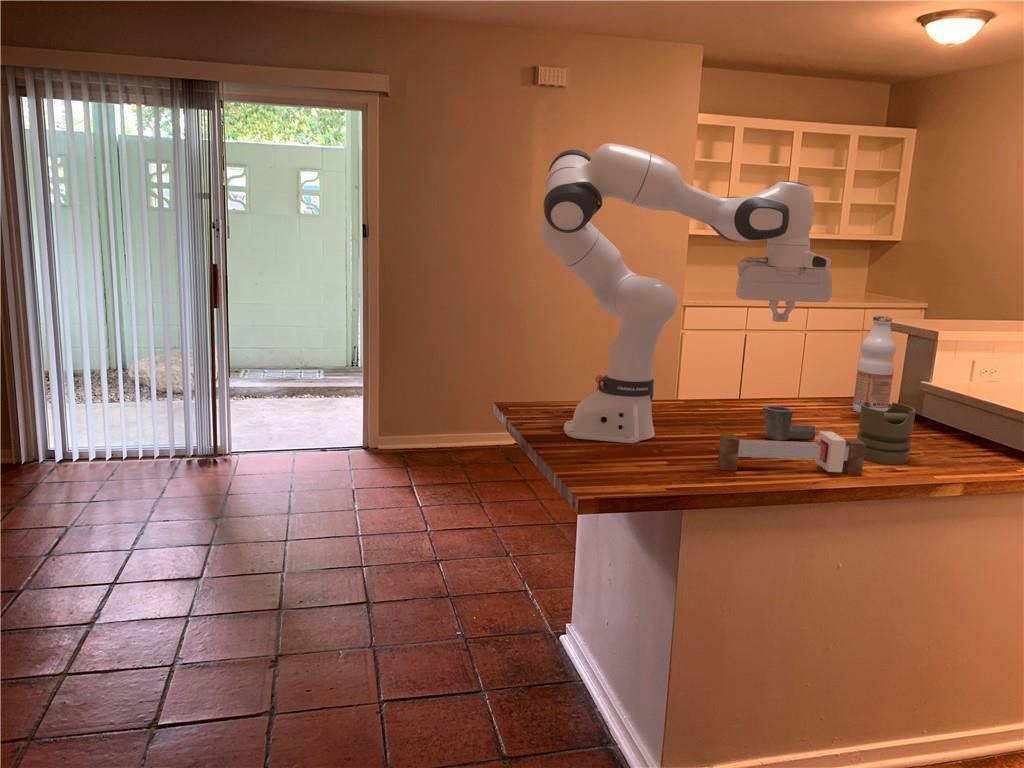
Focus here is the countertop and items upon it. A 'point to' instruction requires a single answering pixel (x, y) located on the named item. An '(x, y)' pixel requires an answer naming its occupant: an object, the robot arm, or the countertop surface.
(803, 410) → the countertop surface
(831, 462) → the collar
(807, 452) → the steel rail
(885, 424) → the piston
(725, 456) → the posts
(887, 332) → the fruit juice
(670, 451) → the countertop surface
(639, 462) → the countertop surface
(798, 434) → the pipe
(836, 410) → the countertop surface
